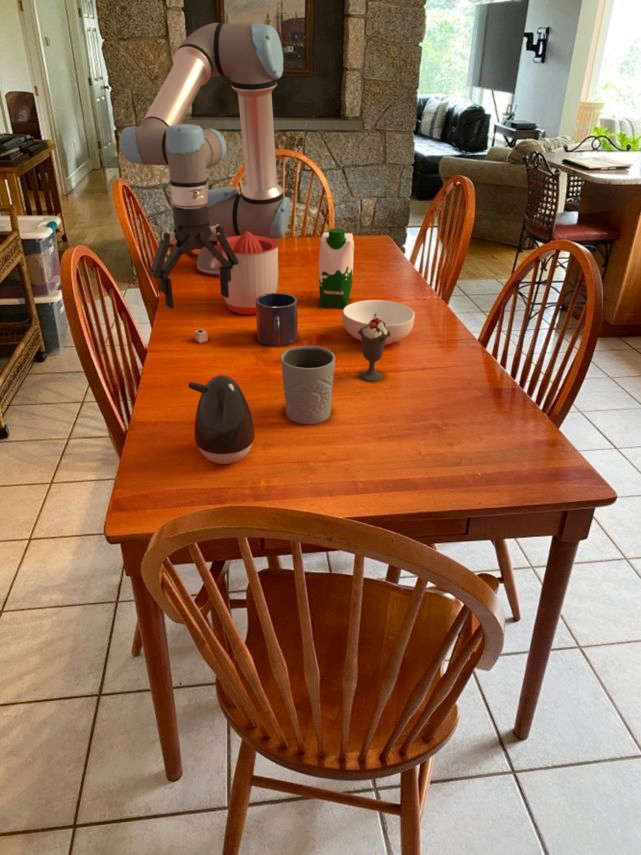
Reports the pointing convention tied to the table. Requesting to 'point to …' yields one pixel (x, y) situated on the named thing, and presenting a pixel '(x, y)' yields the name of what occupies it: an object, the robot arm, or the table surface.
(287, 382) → the grey embossed cup
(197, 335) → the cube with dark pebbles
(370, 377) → the sundae
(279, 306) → the mug
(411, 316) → the cereal bowl
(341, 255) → the milk carton
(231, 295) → the citrus juicer
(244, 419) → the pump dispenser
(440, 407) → the table surface
